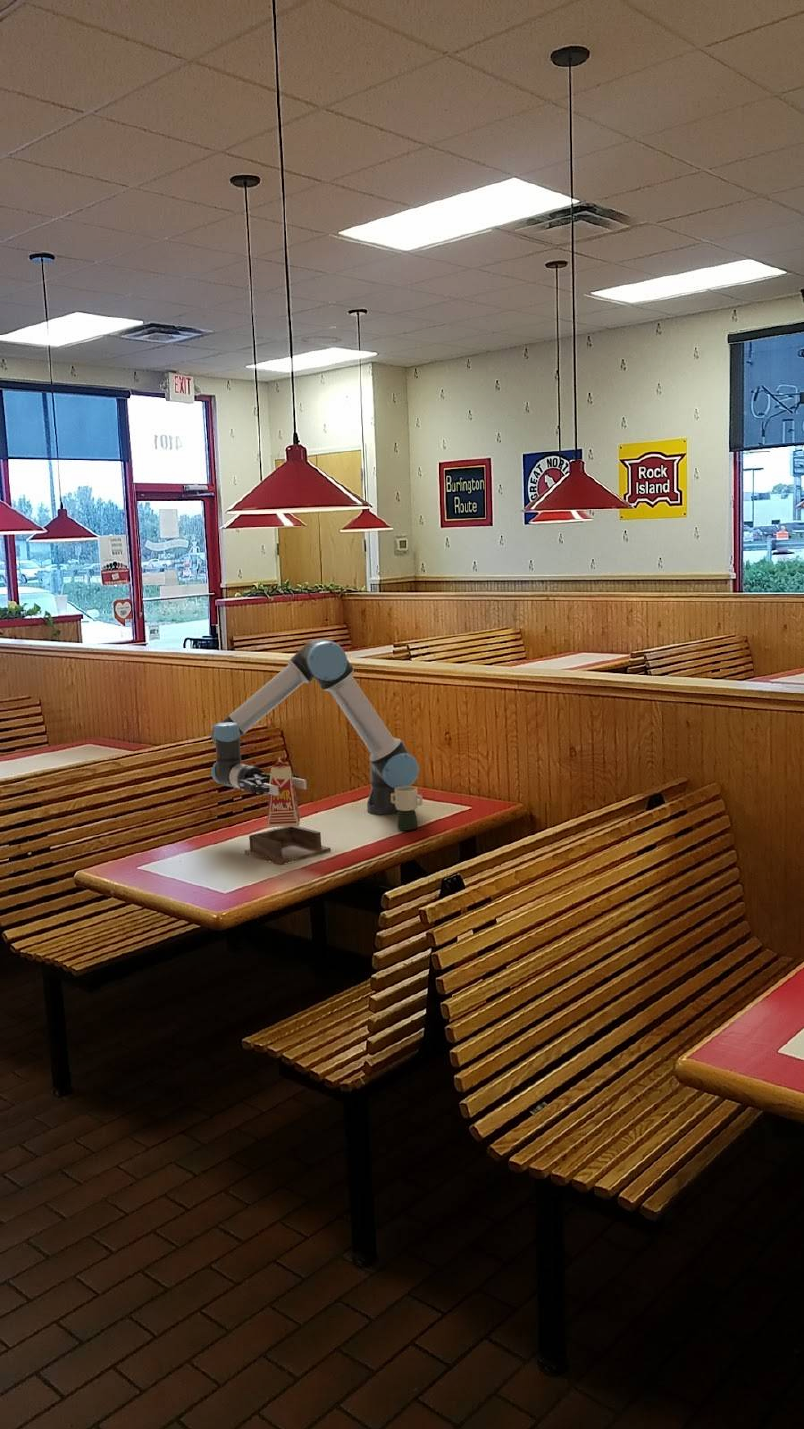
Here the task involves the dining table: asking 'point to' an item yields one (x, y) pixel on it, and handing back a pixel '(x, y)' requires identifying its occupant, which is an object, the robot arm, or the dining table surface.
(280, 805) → the milk carton
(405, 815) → the character mug
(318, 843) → the carton bracket
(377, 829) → the dining table surface
